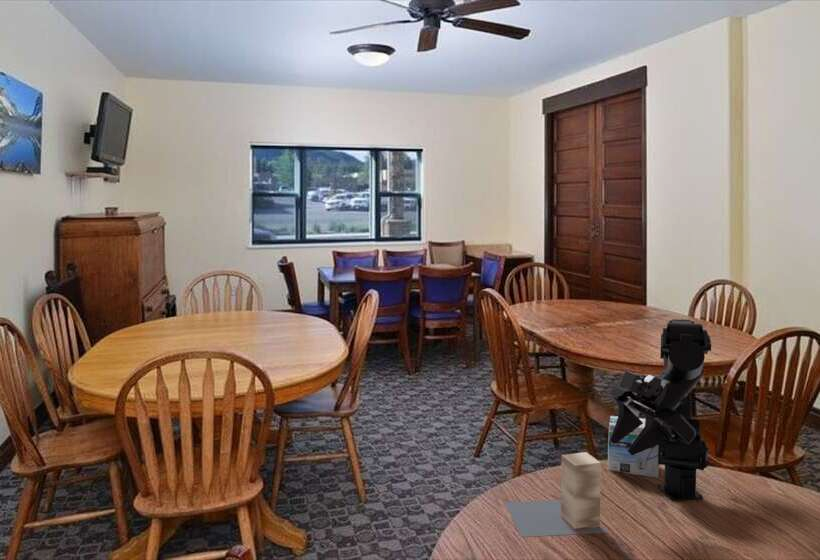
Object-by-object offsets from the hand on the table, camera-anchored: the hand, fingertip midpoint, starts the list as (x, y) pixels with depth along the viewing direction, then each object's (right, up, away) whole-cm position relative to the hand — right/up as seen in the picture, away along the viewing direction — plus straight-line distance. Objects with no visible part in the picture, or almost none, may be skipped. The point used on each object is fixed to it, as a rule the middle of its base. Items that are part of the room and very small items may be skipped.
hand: (620, 447), depth 110 cm
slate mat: (-12, -14, +2) cm, 18 cm away
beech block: (-8, -13, -1) cm, 15 cm away
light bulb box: (+11, -11, +23) cm, 28 cm away
